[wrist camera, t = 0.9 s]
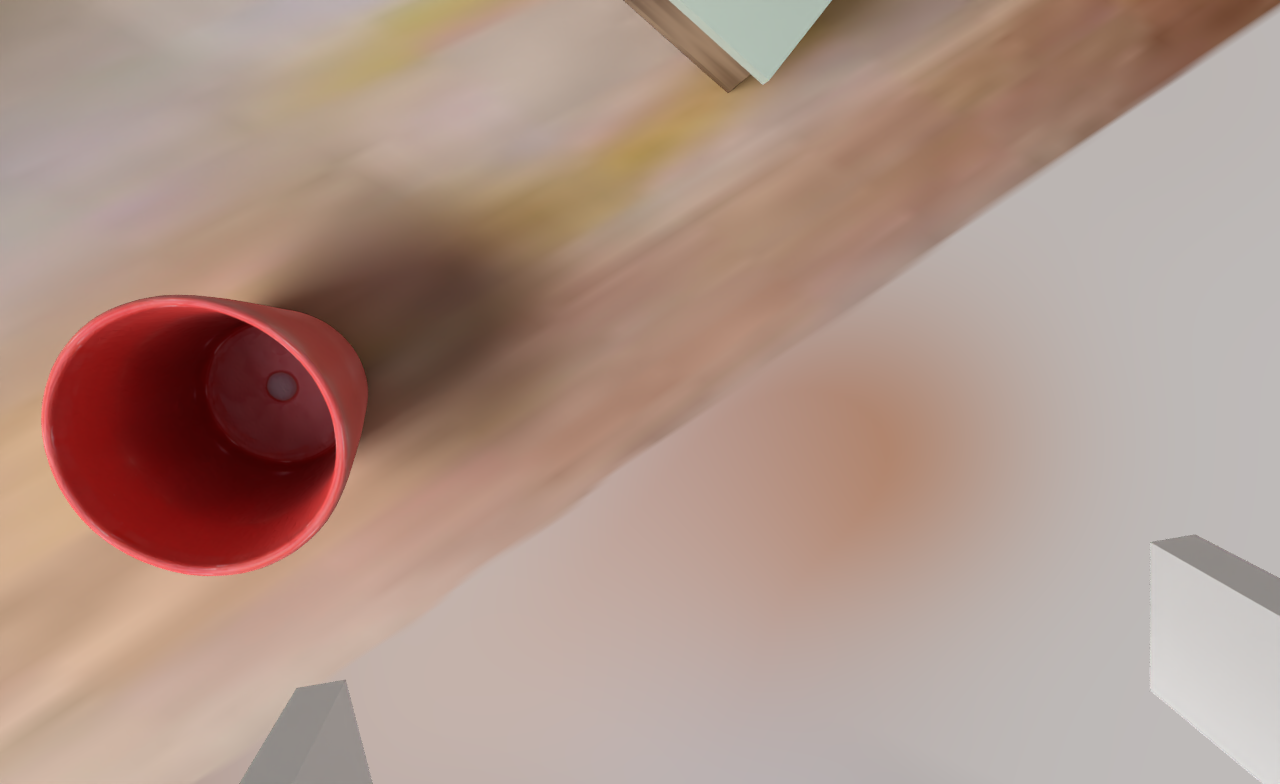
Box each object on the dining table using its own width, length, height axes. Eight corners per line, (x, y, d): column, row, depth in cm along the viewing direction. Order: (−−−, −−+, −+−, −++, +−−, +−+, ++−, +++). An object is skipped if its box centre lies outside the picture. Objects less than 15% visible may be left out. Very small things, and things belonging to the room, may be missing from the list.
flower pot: (303, 229, 37) (207, 233, 27) (445, 415, 39) (403, 479, 30) (123, 356, 38) (-30, 403, 28) (275, 531, 40) (181, 630, 30)
